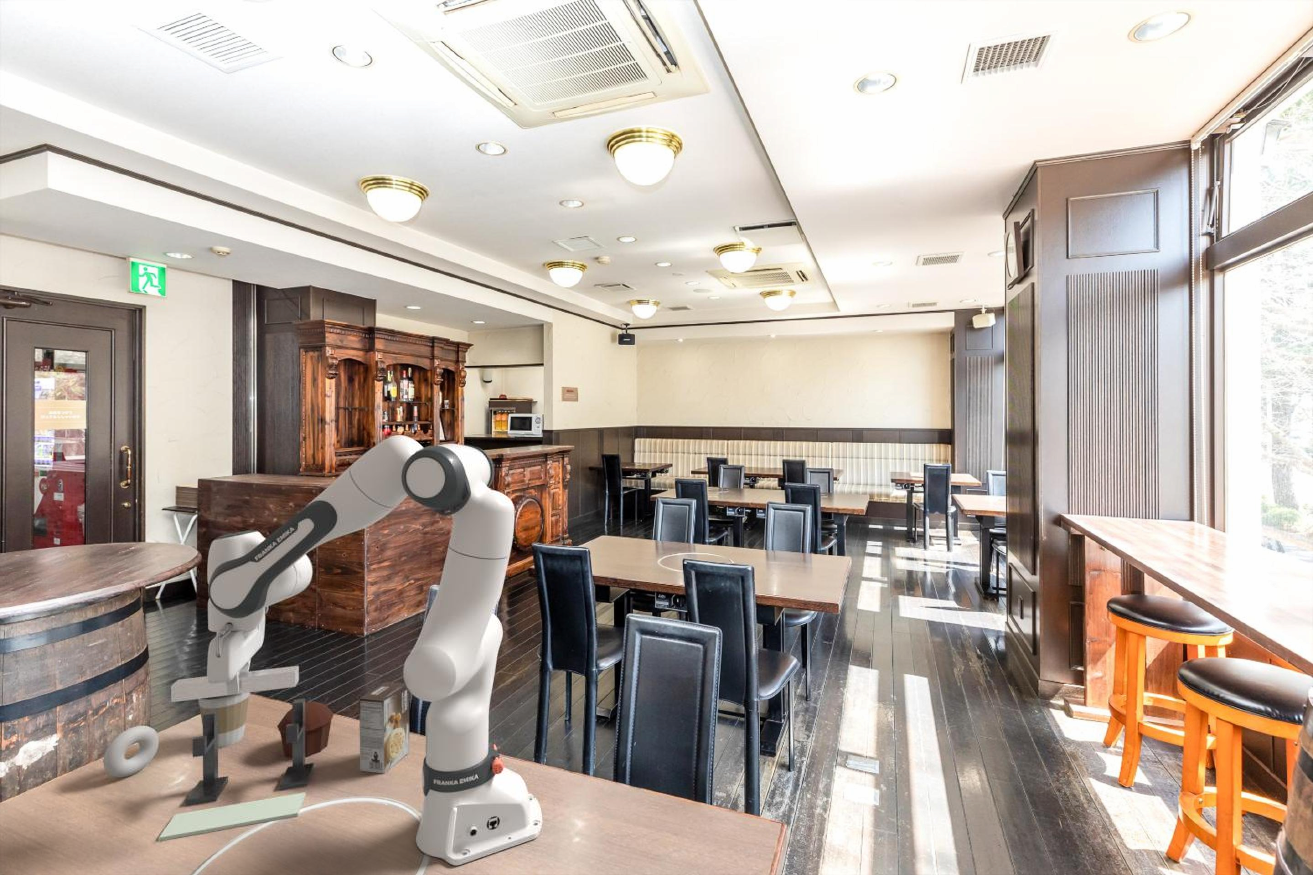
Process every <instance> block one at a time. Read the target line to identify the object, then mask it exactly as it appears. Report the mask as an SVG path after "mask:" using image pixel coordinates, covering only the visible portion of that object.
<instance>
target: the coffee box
mask: <svg viewBox="0 0 1313 875" xmlns="http://www.w3.org/2000/svg"><path fill="white" fill-rule="evenodd" d="M358 699H359V702H358V703H359V706H358V708H359V709H358V710H359V770H360V771H363V772H372V773H378V774H386V773H387V772H389V771H390V770H391V768H393V767H394V766H395V765H396V764H397V763H398V762H400V761H401V760H402V759H403V758H404V757H405V756H406V755H408V754H409V753H410V691H409V690H408V688H407V686H406V684H405V682H404V683H401V682H390V681H385V682H382V684H380V685H378V686H376V687H375V688H373V689H371V690H370V691H369V692H367V693H366V694H364V695H363V696H361V697H359V698H358Z"/></svg>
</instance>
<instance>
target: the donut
mask: <svg viewBox="0 0 1313 875" xmlns="http://www.w3.org/2000/svg"><path fill="white" fill-rule="evenodd" d="M136 743H137V744H139V746H138V750H137V751H136V753H135V754H134V755H133V756H131V757H130V758H128V759H126V757H125V755H126V752H127V750H128V749H129V748H130V747H131V746H132V745H134V744H136ZM159 745H160V739H159V734H158V732H157V731H156V730H155V729H154V728H153V727H150V726H148V725H137V726H133V727H130V728H128V729H126V730H124V731H122V732H120V734H118V735H117V736H116V737H114V739H113V740H112V741H111V742H110V744H108V746H107V748H106V750H105V752H104V754H103V759H102V763H103V764H102V765H103V767H104V770H105V771H106V772H107V774H109V775H110V776H112V777H115V778H126V777H129V776H132V775H134V774H136V773H138V772H140V771H142V770H143V769H144V768H145V767H146V766H147V765H149V764H150V763H151V761H152V760H153V759H154V757H155V756H156V753H157V751H158V748H159Z"/></svg>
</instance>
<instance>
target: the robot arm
mask: <svg viewBox="0 0 1313 875" xmlns="http://www.w3.org/2000/svg"><path fill="white" fill-rule="evenodd" d="M494 465H495V464H494V462H493V459H492V458H491V457H490V455H489V454H488V453H487V452H486V451H484V450H483V449H482V448H481V447H477V446H474V445H470V444H458V443H444V444H438V445H429V446H426V447H424V446H422V445H421V444H420V443H419V442H418V441H416V440H415V439H414V438H412V437H410V436H408V435H402V434H401V435H400V434H398V435H397V434H395V435H392V436H389V437H388V438H386V439H383V440H382V441H381V442H379V443H377V444H375V446H373V447H372V448H371V449H369V450H368V451H366V452H365V453H364V454H362V455H361V456H360V457H359V458H358V459H356V460H355V461H354V462H353V463H352V464H351V465H350V466H349V467H348V468H346V470H345V471H343V472H342V473H341V474H340V475H339V476H338V477H337V478H336V479H335V480H334V481H333V482H332V483H330V484H329V485H328V486H327V488H326V489H324V490H323V491H321V493H319V494H318V496H316V497H315V498H313V499H312V501H310V502H309V503H308V504H307V505H306V506H305V507H304V508H302V509H301V510H300V511H299V512H297V513H296V514H295V515H293V516H292V517H291V518H289V519H288V520H286V522H284V523H283V524H282V525H280V526H279V527H278V528H277V529H275V530H274V531H273V532H272V533H271V534H269V536H267V537H264V536H263V534H261V532H259V531H258V530H252V529H250V530H244V531H241V532H240V531H239V532H234V533H230V534H224V535H220V536H218V537H217V538H215V539H214V540H212V542H211V544H210V546H209V547H210V548H209V550H208V556H207V570H206V571H207V584H208V587H207V590H208V591H207V592H208V597H209V598H208V601H207V620H208V621H207V624H208V626H207V629H208V630H209V631H210V632H212V633H213V632H214V633H216V636H215V637H214V638H212V640H211V641H210V642H209V645H208V652H207V663H206V664H207V666H206V676H207V679H208V682H209V683H211V684H213V683H222V682H225V683H226V685H227V693H228V694H229V695H230V694H236V693H238V691H239V690H240V689H241V687H240V685H241V681H239V677H238V675H239V673H240V672H249V670H250V665H251V661H252V660H251V659H252V657H254V655H255V654H256V653H257V652H258V651H259V650H260V649H261V648H262V646H263V643H264V639H265V628H266V614H267V613H268V611H269V607H270V606H272V605H274V604H277V603H279V602H282V601H285V600H287V599H289V598H292V597H294V596H297V595H298V594H300V593H302V592H303V591H305V590H306V589H307V588H308V587H309V586H310V584H311V582H312V579H313V575H314V568H313V564H312V561H311V558H310V556H308V553H309V552H311V551H312V550H314V549H315V548H317V547H319V546H321V545H323V544H324V543H327V542H329V541H332V540H334V539H337V538H340V537H342V536H345V535H348V534H351V533H355V532H358V531H361V530H363V529H365V528H368V527H370V526H372V525H373V524H375V523H377V522H378V521H380V520H382V519H383V518H385V517H386V516H387V515H389V514H391V512H392V511H393V510H395V509H396V508H397V507H398V506H399V505H400V504H401V503H402V502H403V501H404V500H405V499H406V498H408V496H409V498H410V499H412V500H413V501H414V502H416V503H417V504H419V505H421V506H423V507H426V508H429V509H430V510H432V511H434V512H435V513H437V514H438V515H440V516H443V517H448V516H451V518H452V530H451V534H450V538H449V543H448V547H447V552H446V557H445V560H444V565H443V569H442V574H441V577H440V583H439V586H438V589H437V592H436V594H435V597H434V599H433V602H432V604H431V606H430V609H429V611H428V614H427V616H426V619H425V621H424V624H423V626H422V628H421V632H420V633H419V636H418V638H417V640H416V643H415V644H414V645H413V647H412V650H411V651H410V653H409V655H408V656H407V657H406V660H405V661H404V665H403V669H402V672H403V674H402V675H403V680H404V684H406V686H407V688H408V690H409V693H411V694H412V695H413V697H415V698H417V699H419V700H421V701H424V702H429V703H430V705H429V707H428V709H427V712H426V716H425V756H424V758H423V764H422V770H421V771H422V772H421V774H422V775H421V777H422V778H421V779H422V780H421V781H422V791H423V804H422V810H421V817H420V820H419V821H420V822H419V827H418V829H417V832H416V836H415V842H416V846H417V847H418V849H419V850H420V851H421V852H423V853H424V854H426V855H428V856H430V857H435V858H439V859H443V860H444V861H445V862H447V863H448V864H450V865H452V866H460V865H463V864H466V863H469V862H472V861H475V860H477V859H480V858H483V857H486V856H489V855H492V854H495V853H498V852H500V851H503V850H506V849H510V848H512V847H515V846H518V845H520V844H523V843H526V842H530V841H532V840H535V839H536V838H537V837H538V836H539V834H540V833H541V831H542V828H543V815H542V814H543V813H542V809H541V806H540V802H539V801H538V799H537V798H536V797H535V796H534V794H532V793H531V792H529V791H528V790H529V789H528V787H527V785H526V782H525V780H524V779H523V777H522V776H521V775H520V774H519V773H517V772H514V771H512V770H511V769H508V768H507V767H505V766H504V762H503V760H502V759H501V758H500V757H501V756H500V752H499V750H498V748H497V746H496V744H495V743H494V744H493V747H492V746H490V745H489V724H490V723H489V722H490V721H489V717H490V716H489V714H490V713H489V712H490V704H491V696H492V690H493V686H494V685H493V684H494V679H495V674H496V666H497V660H498V659H497V658H498V654H499V650H500V647H501V644H502V641H503V636H504V633H503V632H504V629H503V626H502V623H501V621H500V619H499V618H498V616H497V615H496V614H495V613H494V610H495V608H496V606H497V605H498V602H499V601H500V598H501V596H502V594H503V593H502V592H503V588H504V584H505V583H504V582H505V579H506V574H507V569H508V566H509V561H510V557H511V551H512V546H513V541H514V532H515V531H514V530H515V511H516V510H515V505H514V503H513V501H512V499H510V497H509V496H507V495H506V494H504V493H503V492H501V491H498V490H494V489H492V488H490V487H491V485H492V483H493V482H494V481H493V480H494V477H495V466H494Z"/></svg>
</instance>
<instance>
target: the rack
mask: <svg viewBox="0 0 1313 875" xmlns="http://www.w3.org/2000/svg"><path fill="white" fill-rule="evenodd" d="M305 702H306V698H299V699H294V700H293V702H292V704H291V705H292V706H291V709H292V724H287V726H286V744H288V743H292V758H291V760H292V761H291V762H292V764H291V765H292V766H287V768H286V770H285V772H284V774H283V776H282V779H281V780H280V783H279V785H278V789H279V791H280V792H281V791H284V790H291V789H297V788H302V787H303V788H304V787H307V786H308V784H309V782H310V779H311V777H312V774H313V772H314V769H315V763H314V762H310V763H306V757H305ZM197 757H202V780H201V779H200V780H199V781H198V782H197V783H196V785H195V787H194V788H193V790H192V791H191V793H190V794H189V795H188V796H187V798H186V799H185V806H186V807H188V806H194V805H201V804H207V803H213V802H217V800H218V799H219V797H220V795H221V794H222V792H223V791H224V790H225V787H226V786H227V785H228V782H229V775H227V776H221V777H219V748H218V709H216V710H208V711H206V712H205V713H204V714H203V725H202V735H200V736H199V735H198V736H194V737H193V739H192V758H197Z"/></svg>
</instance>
